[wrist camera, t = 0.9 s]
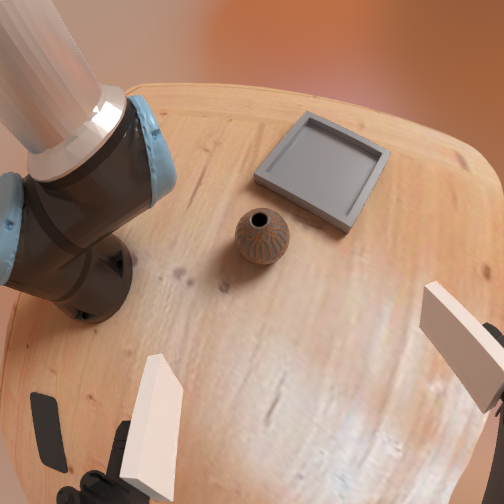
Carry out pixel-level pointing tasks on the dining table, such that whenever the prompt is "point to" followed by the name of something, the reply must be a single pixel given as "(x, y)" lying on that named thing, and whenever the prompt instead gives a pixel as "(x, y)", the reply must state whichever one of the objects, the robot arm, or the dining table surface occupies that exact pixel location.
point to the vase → (262, 236)
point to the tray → (324, 169)
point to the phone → (48, 431)
